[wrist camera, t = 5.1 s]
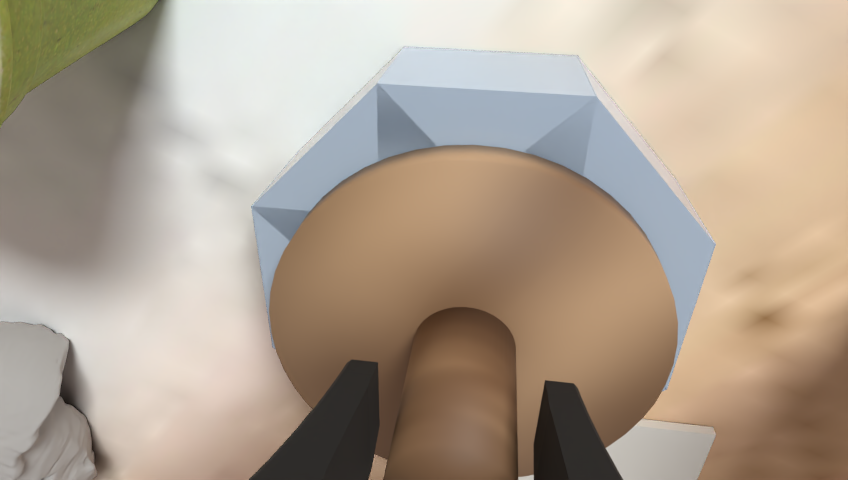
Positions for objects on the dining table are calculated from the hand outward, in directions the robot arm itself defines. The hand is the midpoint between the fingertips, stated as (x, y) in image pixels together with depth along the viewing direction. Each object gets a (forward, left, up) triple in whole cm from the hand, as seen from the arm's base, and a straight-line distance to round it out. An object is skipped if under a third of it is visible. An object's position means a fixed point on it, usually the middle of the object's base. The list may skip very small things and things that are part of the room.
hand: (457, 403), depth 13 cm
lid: (0, +1, -4) cm, 4 cm away
